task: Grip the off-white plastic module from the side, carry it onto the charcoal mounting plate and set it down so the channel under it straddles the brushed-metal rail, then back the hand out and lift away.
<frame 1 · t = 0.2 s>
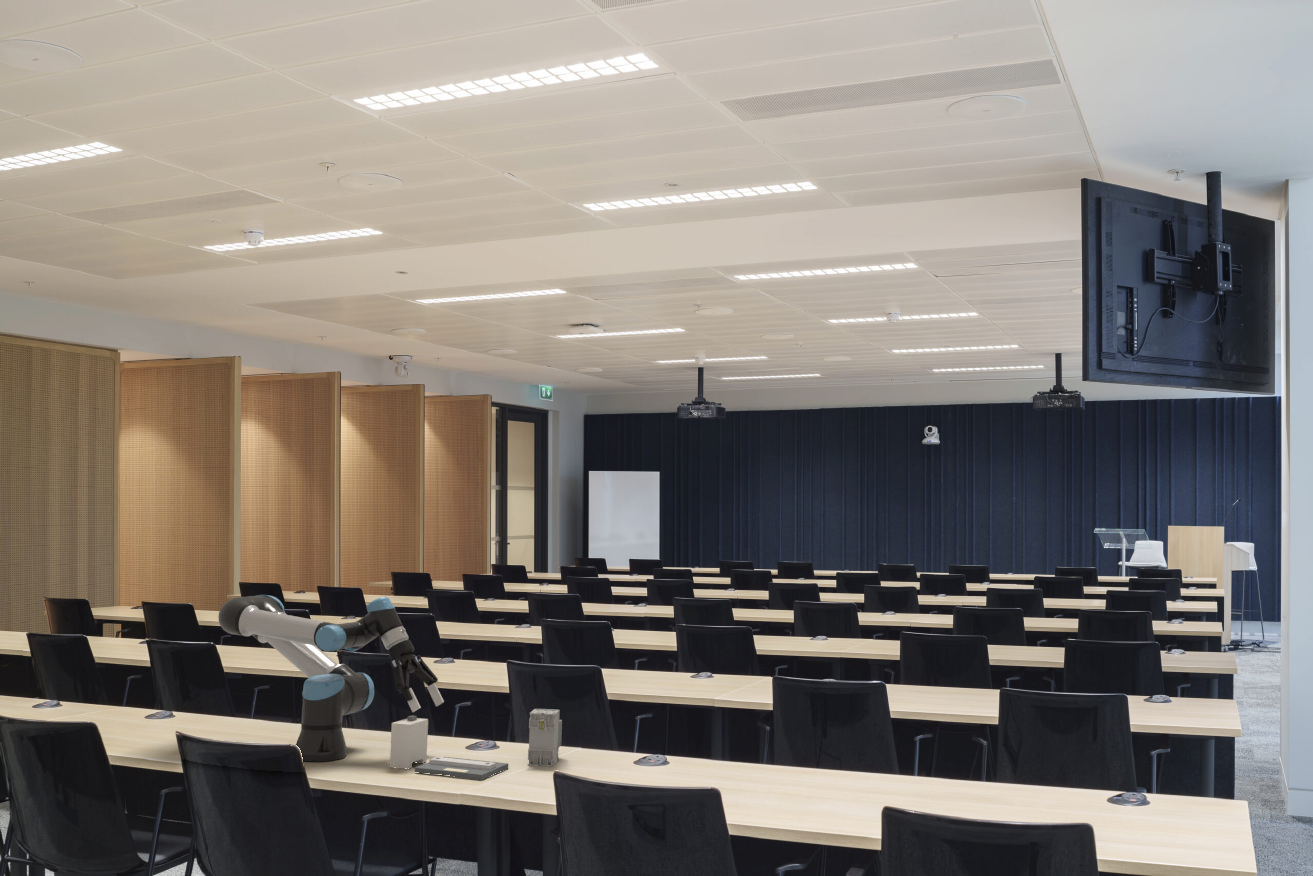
hand: (428, 707, 328), 15 cm above the table, tool tilted 35°, fingers open, 13 cm apart
circuit breaker: (545, 761, 326), on the table
module: (408, 765, 316), on the table
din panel: (462, 770, 310), on the table
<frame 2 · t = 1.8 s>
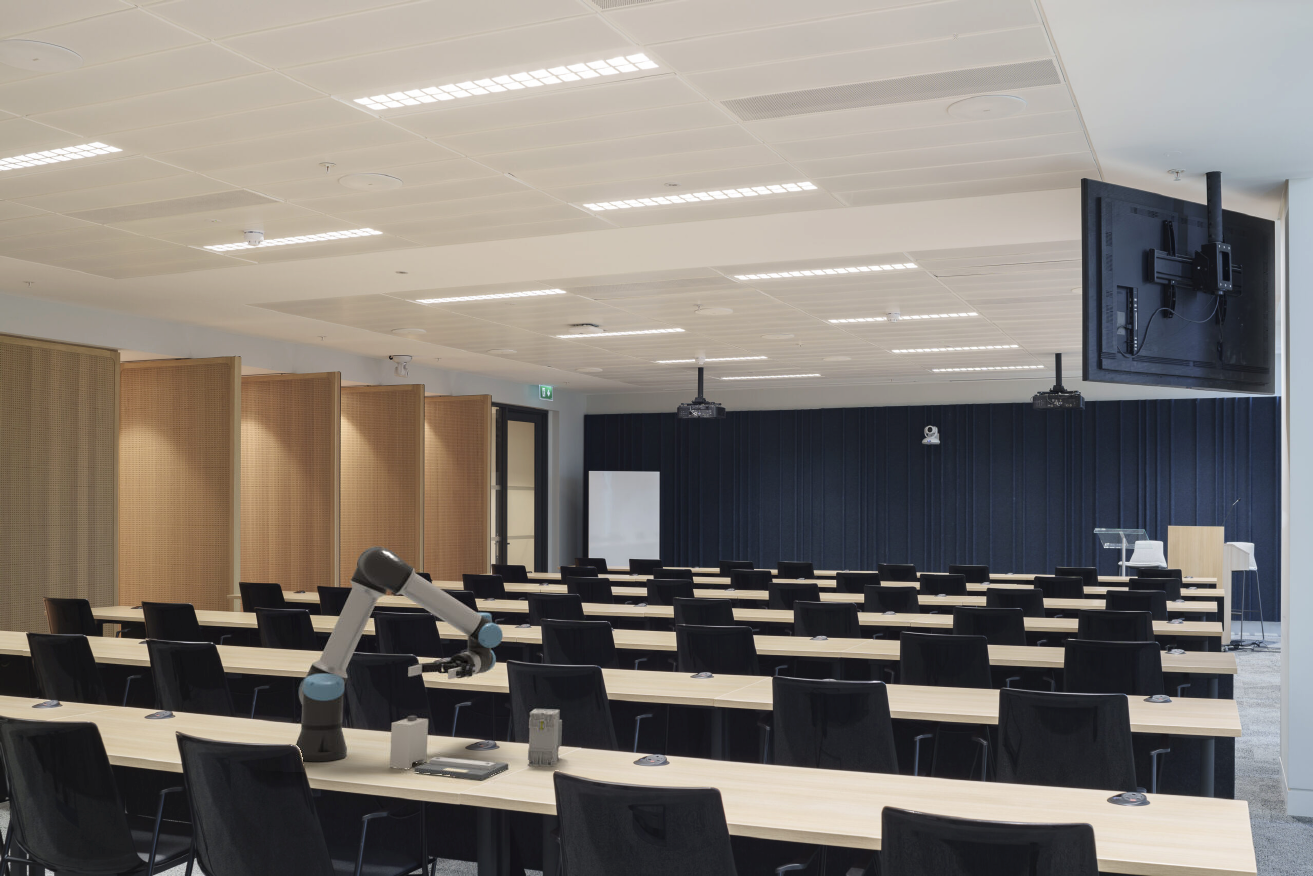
hand: (429, 673, 327), 25 cm above the table, tool horizontal, fingers open, 13 cm apart
nothing on the table moved.
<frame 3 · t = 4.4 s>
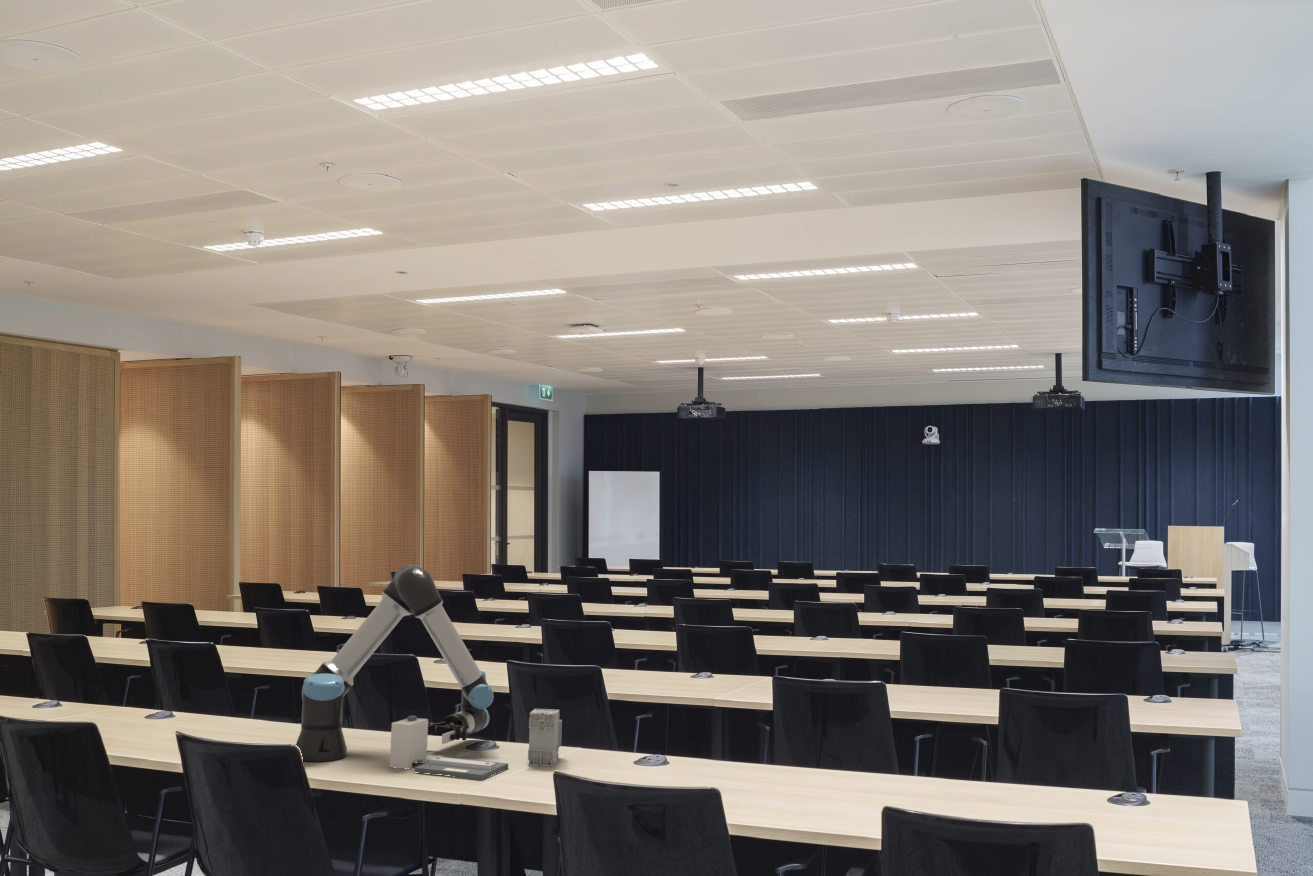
hand: (422, 737, 322), 7 cm above the table, tool horizontal, fingers open, 13 cm apart
nothing on the table moved.
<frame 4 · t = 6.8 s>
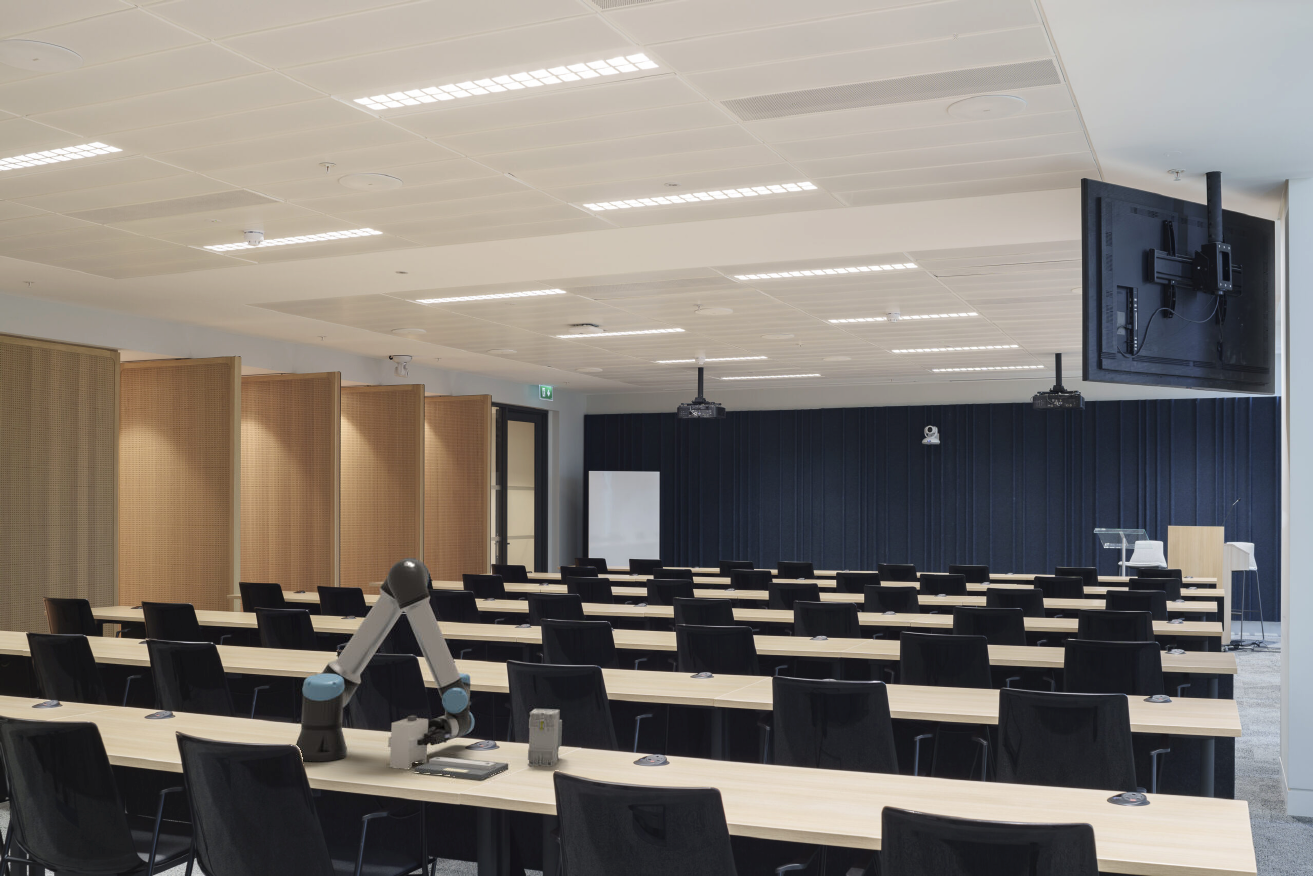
hand: (399, 743, 312), 7 cm above the table, tool horizontal, fingers closed on module, 6 cm apart
module: (408, 765, 316), on the table, touching gripper
everything else where it was.
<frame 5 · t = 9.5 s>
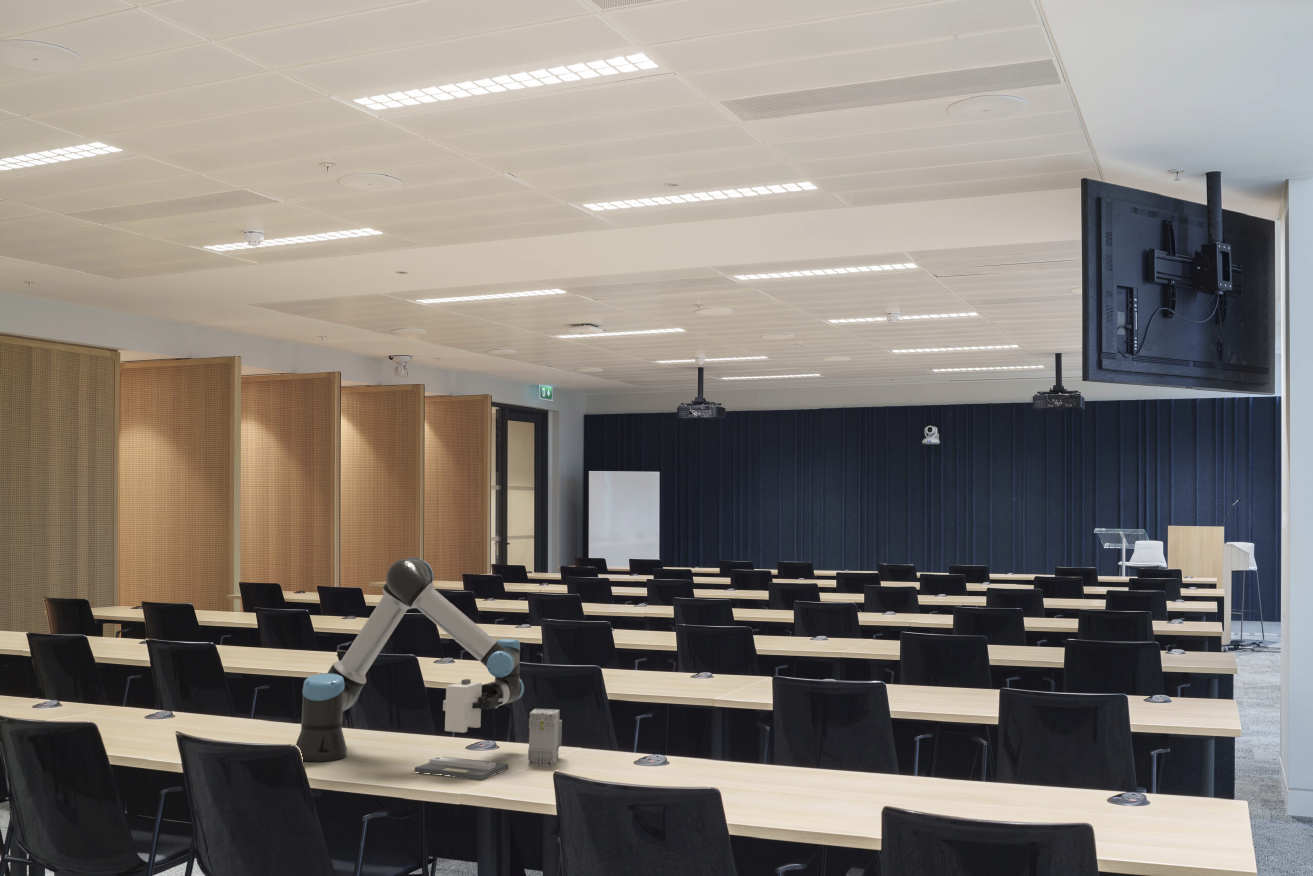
hand: (454, 706, 308), 19 cm above the table, tool horizontal, fingers closed on module, 6 cm apart
module: (462, 728, 312), point 12 cm above the table, touching gripper
everything else where it was.
when the fingers open (10 cm above the table, at t = 12.0 s): module drops 1 cm, resting on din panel.
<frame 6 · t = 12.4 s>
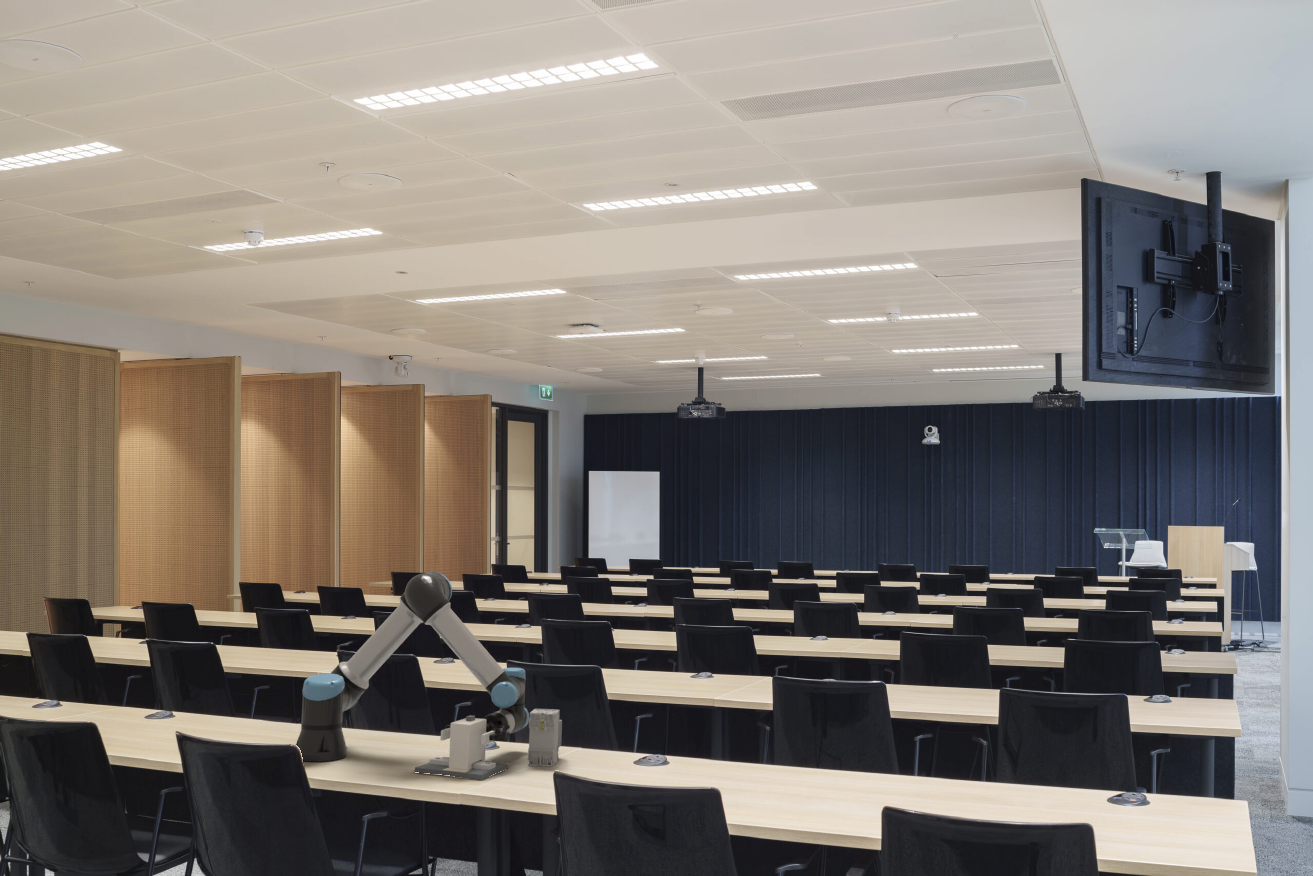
hand: (461, 737, 307), 10 cm above the table, tool horizontal, fingers open, 12 cm apart
module: (467, 766, 310), point 1 cm above the table, touching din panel
everything else where it was.
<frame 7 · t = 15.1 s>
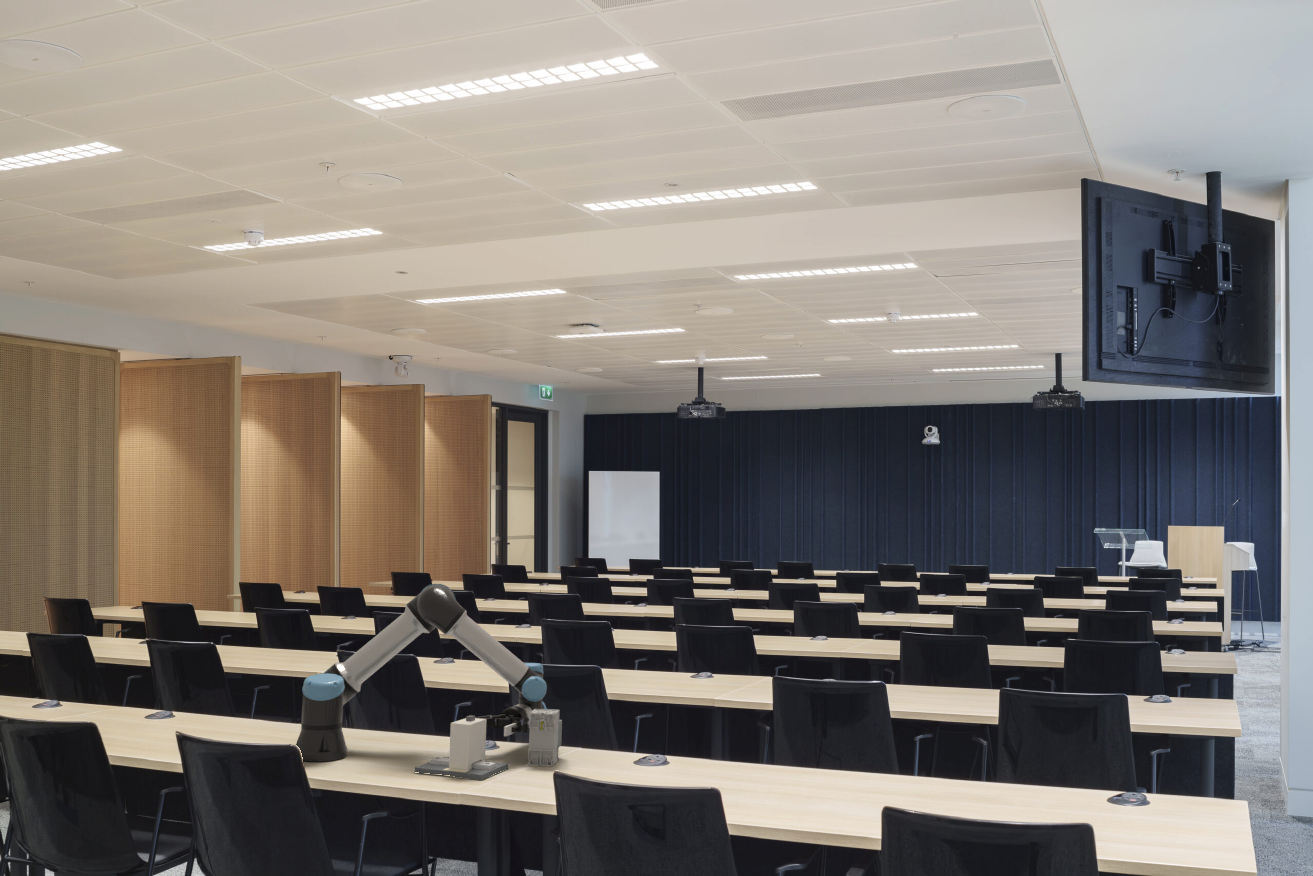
hand: (484, 729, 320), 10 cm above the table, tool horizontal, fingers open, 13 cm apart
nothing on the table moved.
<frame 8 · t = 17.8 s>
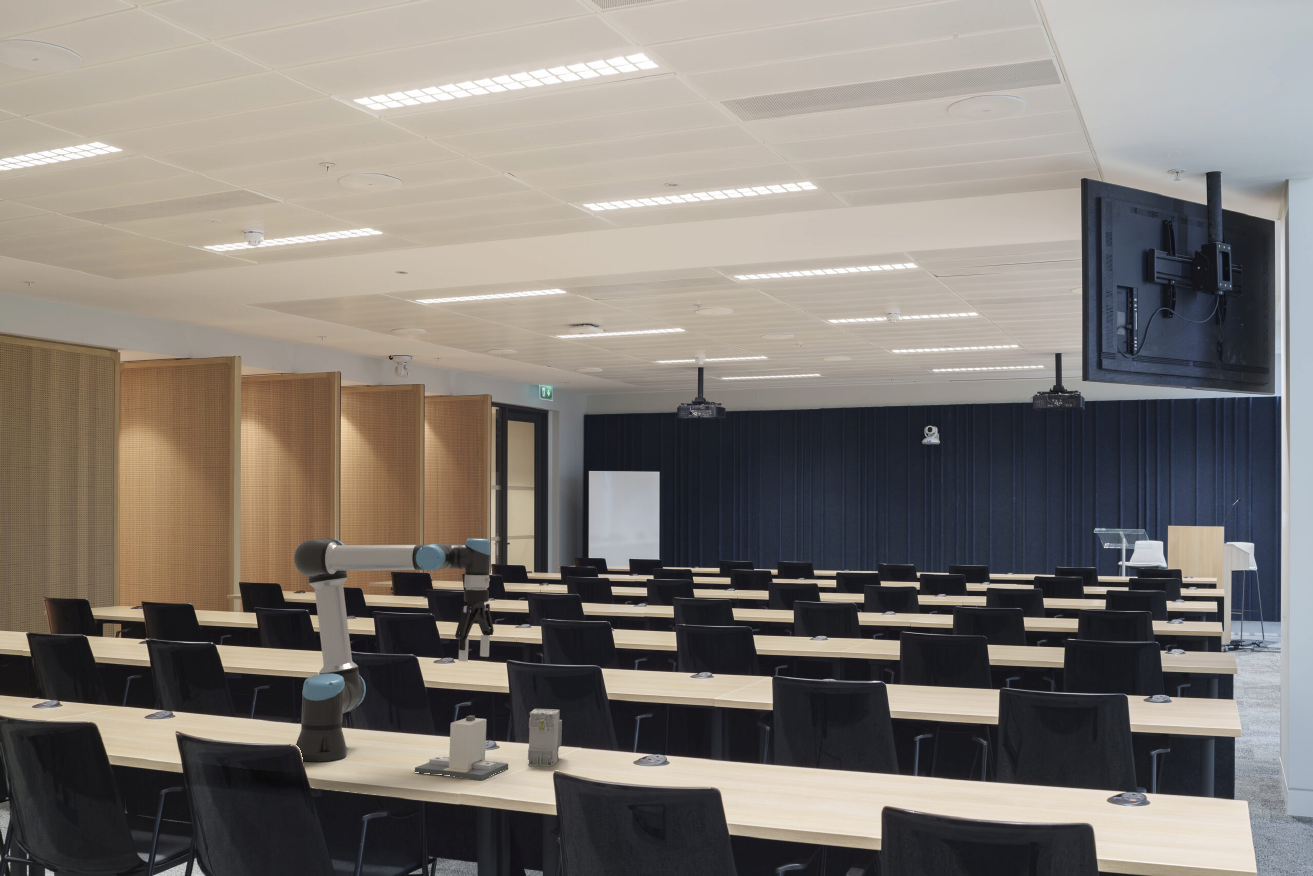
hand: (473, 658, 335), 29 cm above the table, tool pointing down, fingers open, 13 cm apart
nothing on the table moved.
at the end: module 0.1 cm from the target spot on the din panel, point 1.5 cm above the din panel's base; module tilted 0°; the gripper is holding nothing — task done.
